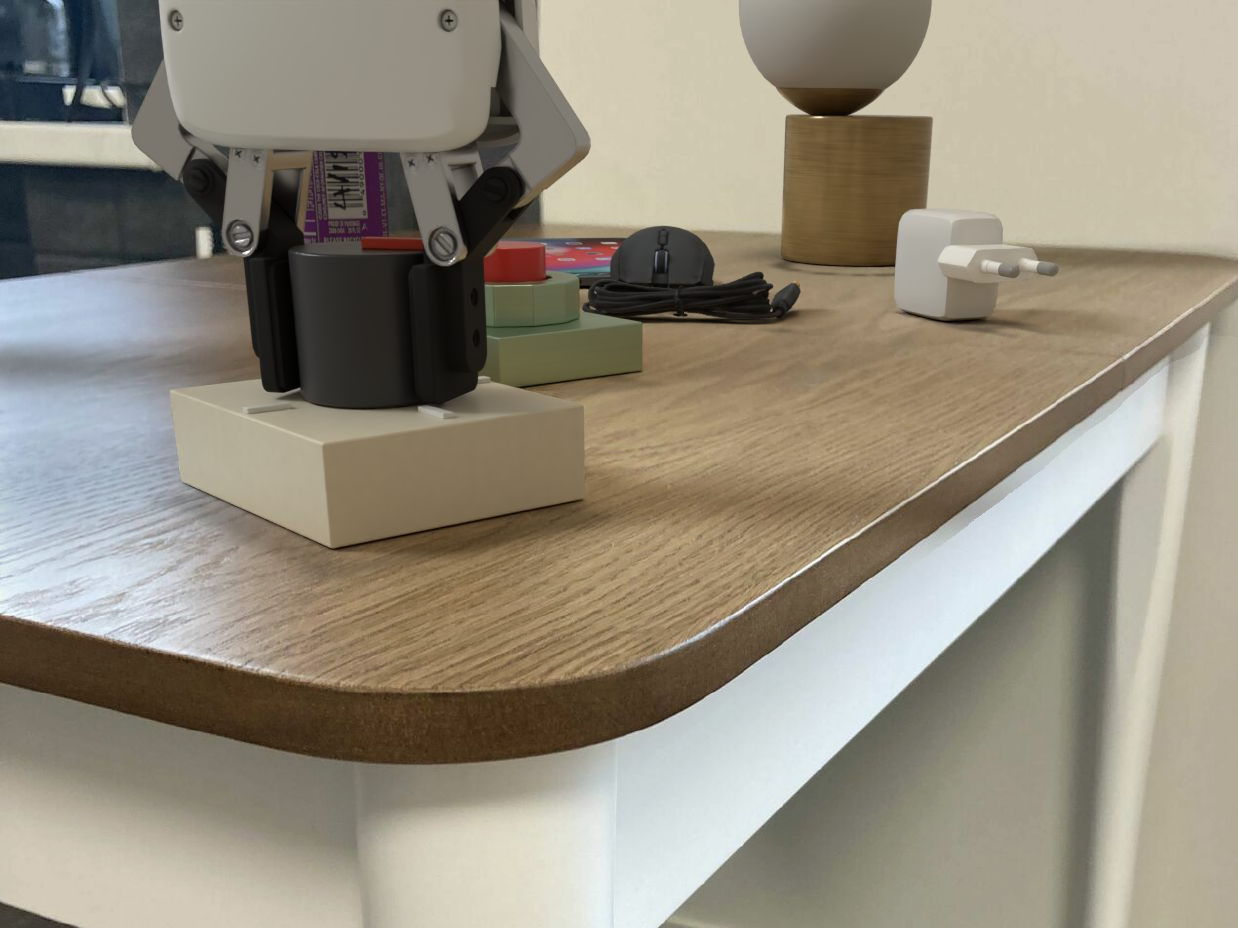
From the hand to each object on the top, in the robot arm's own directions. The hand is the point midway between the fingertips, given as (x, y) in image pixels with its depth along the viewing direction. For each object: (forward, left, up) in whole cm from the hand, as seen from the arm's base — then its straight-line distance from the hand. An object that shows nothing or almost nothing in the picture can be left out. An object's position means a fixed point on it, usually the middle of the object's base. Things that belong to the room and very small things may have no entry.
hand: (371, 384), depth 46 cm
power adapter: (-13, +46, -4) cm, 48 cm away
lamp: (-42, +65, -4) cm, 77 cm away
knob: (0, 0, 0) cm, 0 cm away
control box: (0, 0, -3) cm, 3 cm away
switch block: (-17, +17, -3) cm, 24 cm away
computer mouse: (-28, +39, -3) cm, 48 cm away
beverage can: (-41, +21, -4) cm, 46 cm away
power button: (-17, +17, 0) cm, 24 cm away
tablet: (-50, +43, -3) cm, 66 cm away
